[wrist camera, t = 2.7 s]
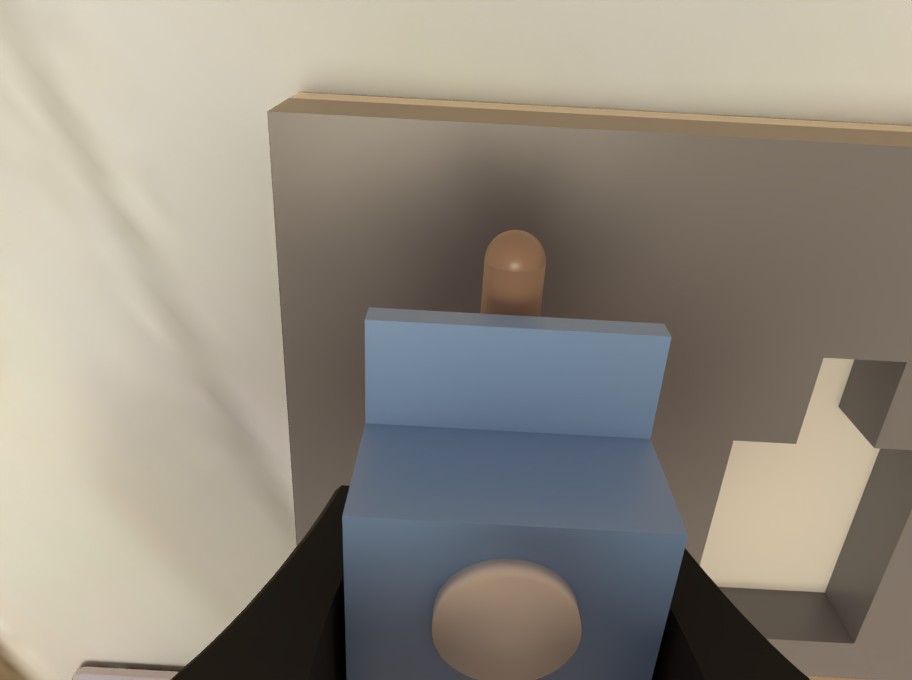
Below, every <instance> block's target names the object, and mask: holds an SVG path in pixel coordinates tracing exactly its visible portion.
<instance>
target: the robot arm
mask: <svg viewBox="0 0 912 680" xmlns="http://www.w3.org/2000/svg"><path fill="white" fill-rule="evenodd" d="M349 487H350V486H347V485H341V486H340V487H339V488H337V489H336V490H335V491H334V493H333V495H332V496H331V498H330V500H329V501H328V503H327V504H326V506H325V508H324V509H323V511H322V512H321V514H320V515H319V517H318V518H317V520H316V521H315V522H314V524H313V525H312V527H311V528H310V529H309V531H308V532H307V534H306V535H305V536H304V538H303V539H302V540H301V542H300V543H299V544H298V546H297V547H296V548H295V549H294V551H293V552H292V553H291V555H290V556H289V557H288V558H287V560H286V561H285V562H284V564H283V565H282V566H281V567H280V569H279V570H278V571H277V572H276V573H275V575H274V576H273V577H272V578H271V579H270V580H269V582H268V583H267V584H266V585H265V586H264V587H263V588H262V590H261V591H260V592H259V593H258V594H257V595H256V596H255V598H254V599H253V600H252V601H251V602H250V603H249V604H248V605H247V607H246V608H245V609H244V610H243V611H242V612H241V613H240V614H239V615H238V616H237V617H236V618H235V619H234V620H233V621H232V622H231V624H230V625H229V626H228V627H227V628H226V629H225V630H224V631H223V632H222V633H221V634H220V635H219V636H218V637H216V638H215V639H214V640H213V641H212V642H211V643H210V644H209V645H208V646H207V647H206V648H205V649H204V650H203V651H202V652H201V653H200V654H199V655H198V656H197V657H195V658H194V659H193V660H192V661H191V662H190V663H189V664H187V665H186V666H185V667H184V668H183V669H182V670H181V671H180V672H176V671H158V670H140V669H121V668H103V667H81V668H79V669H78V670H77V671H76V673H75V674H74V676H73V678H72V680H347V677H346V640H345V602H344V565H343V527H342V515H343V511H344V507H345V503H346V499H347V495H348V491H349ZM652 680H810V679H809V678H808V677H807V676H805V675H804V674H803V673H802V672H801V671H800V670H799V669H798V668H797V667H795V666H794V665H793V664H792V663H791V662H790V661H789V660H788V659H787V658H786V657H784V656H783V655H782V654H781V653H780V652H779V651H778V650H777V649H776V648H775V647H774V646H773V645H772V644H771V643H770V642H769V641H768V640H767V639H766V638H765V637H764V636H763V635H762V634H761V633H760V632H759V631H758V630H757V629H756V628H755V627H754V626H753V625H752V624H751V623H750V622H749V620H748V619H747V618H746V617H745V616H744V615H743V614H742V613H741V612H740V611H739V610H738V609H737V608H736V607H735V605H734V604H733V603H732V602H731V601H730V600H729V599H728V598H727V597H726V595H725V594H724V593H723V592H722V591H721V590H720V588H719V587H718V586H717V585H716V584H715V583H714V582H713V580H712V579H711V578H710V577H709V576H708V575H707V574H706V572H705V571H704V570H703V569H702V568H701V566H700V565H699V564H698V563H697V562H696V560H695V559H694V558H693V557H692V556H691V554H690V553H689V552H688V551H687V549H686V548H685V550H684V554H683V558H682V561H681V565H680V569H679V573H678V577H677V581H676V585H675V589H674V593H673V597H672V601H671V605H670V609H669V613H668V617H667V621H666V624H665V628H664V632H663V636H662V640H661V644H660V648H659V652H658V656H657V660H656V664H655V668H654V672H653V676H652Z"/></svg>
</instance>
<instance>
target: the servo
mask: <svg viewBox="0 0 912 680" xmlns="http://www.w3.org/2000/svg"><path fill="white" fill-rule="evenodd" d="M545 268H546V255H545V251H544V248H543V246H542V244H541V243H540V242H539V240H538V239H537V238H536V237H534V236H533V235H532V234H530V233H528V232H526V231H522V230H509V231H506V232H503V233H501V234H499V235H498V236H496V237H495V238H494V239H493V240H492V241H491V243H490V244H489V246H488V248H487V250H486V253H485V258H484V271H483V285H482V299H481V312H480V313H462V312H444V311H426V310H408V309H390V308H372V307H369V308H368V311H367V314H366V317H365V427H364V431H363V435H362V439H361V443H360V447H359V451H358V455H357V459H356V463H355V467H354V471H353V475H352V479H351V483H350V487H349V491H348V495H347V499H346V503H345V507H344V511H343V515H342V527H343V565H344V602H345V640H346V677H347V680H652V676H653V672H654V668H655V664H656V660H657V656H658V652H659V648H660V644H661V640H662V636H663V632H664V628H665V624H666V621H667V617H668V613H669V609H670V605H671V601H672V597H673V593H674V589H675V585H676V581H677V577H678V573H679V569H680V565H681V561H682V558H683V554H684V550H685V546H686V542H687V538H688V533H687V531H686V528H685V526H684V523H683V521H682V518H681V516H680V513H679V510H678V508H677V505H676V503H675V500H674V498H673V495H672V493H671V490H670V488H669V485H668V483H667V480H666V477H665V475H664V472H663V470H662V467H661V465H660V462H659V460H658V457H657V455H656V452H655V449H654V447H653V444H652V442H651V434H652V429H653V424H654V419H655V414H656V410H657V405H658V400H659V395H660V390H661V386H662V381H663V376H664V371H665V366H666V361H667V357H668V352H669V347H670V342H671V335H670V333H669V331H668V330H667V328H666V326H665V324H660V323H642V322H624V321H606V320H588V319H570V318H552V317H540V312H541V304H542V295H543V286H544V277H545Z"/></svg>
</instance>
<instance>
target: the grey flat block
mask: <svg viewBox="0 0 912 680" xmlns="http://www.w3.org/2000/svg"><path fill="white" fill-rule="evenodd" d="M267 114H268V128H269V143H270V158H271V173H272V187H273V202H274V217H275V232H276V246H277V261H278V276H279V291H280V306H281V320H282V335H283V350H284V365H285V379H286V394H287V409H288V424H289V438H290V453H291V468H292V483H293V497H294V512H295V527H296V542H297V546H298V544H299V543H300V542H301V540H302V539H303V538H304V536H305V535H306V534H307V532H308V531H309V529H310V528H311V527H312V525H313V524H314V522H315V521H316V520H317V518H318V517H319V515H320V514H321V512H322V511H323V509H324V508H325V506H326V504H327V503H328V501H329V500H330V498H331V496H332V495H333V493H334V491H335V490H336V489H337V488H339V487H340V486H341V485H347V486H350V483H351V479H352V475H353V471H354V467H355V463H356V459H357V455H358V451H359V447H360V443H361V439H362V435H363V431H364V427H365V317H366V314H367V311H368V308H369V307H372V308H390V309H408V310H426V311H444V312H462V313H480V312H481V299H482V285H483V271H484V258H485V253H486V250H487V248H488V246H489V244H490V243H491V241H492V240H493V239H494V238H495V237H496V236H498V235H499V234H501V233H503V232H506V231H509V230H522V231H526V232H528V233H530V234H532V235H533V236H534V237H536V238H537V239H538V240H539V242H540V243H541V244H542V246H543V248H544V251H545V255H546V268H545V277H544V286H543V295H542V304H541V312H540V317H552V318H570V319H588V320H606V321H624V322H642V323H660V324H665V326H666V328H667V330H668V331H669V333H670V335H671V342H670V347H669V352H668V357H667V361H666V366H665V371H664V376H663V381H662V386H661V390H660V395H659V400H658V405H657V410H656V414H655V419H654V424H653V429H652V434H651V442H652V444H653V447H654V449H655V452H656V455H657V457H658V460H659V462H660V465H661V467H662V470H663V472H664V475H665V477H666V480H667V483H668V485H669V488H670V490H671V493H672V495H673V498H674V500H675V503H676V505H677V508H678V510H679V513H680V516H681V518H682V521H683V523H684V526H685V528H686V531H687V533H688V538H687V542H686V546H685V548H686V549H687V551H688V552H689V553H690V554H691V556H692V557H693V558H694V559H695V560H696V562H697V563H698V564H699V565H700V566H701V568H702V569H703V570H704V571H705V572H706V574H707V575H708V576H709V577H710V578H711V579H712V580H713V582H714V583H715V584H716V585H717V586H718V587H719V588H720V590H721V591H722V592H723V593H724V594H725V595H726V597H727V598H728V599H729V600H730V601H731V602H732V603H733V604H734V605H735V607H736V608H737V609H738V610H739V611H740V612H741V613H742V614H743V615H744V616H745V617H746V618H747V619H748V620H749V622H750V623H751V624H752V625H753V626H754V627H755V628H756V629H757V630H758V631H759V632H760V633H761V634H762V635H763V636H764V637H765V638H766V639H767V640H768V641H769V642H770V643H771V644H772V645H773V646H774V647H775V648H776V649H777V650H778V651H779V652H780V653H781V654H782V655H783V656H784V657H786V658H787V659H788V660H789V661H790V662H791V663H792V664H793V665H794V666H795V667H797V668H798V669H799V670H800V671H801V672H802V673H803V674H804V675H805V676H818V677H836V678H854V679H872V680H912V126H904V125H886V124H868V123H850V122H832V121H813V120H795V119H777V118H759V117H741V116H723V115H704V114H686V113H668V112H650V111H632V110H613V109H595V108H577V107H559V106H541V105H522V104H504V103H486V102H468V101H450V100H432V99H413V98H395V97H377V96H359V95H341V94H322V93H304V92H299V93H297V94H296V95H294V96H292V97H291V98H289V99H287V100H286V101H284V102H282V103H281V104H279V105H277V106H276V107H274V108H272V109H271V110H269V111H267Z"/></svg>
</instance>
